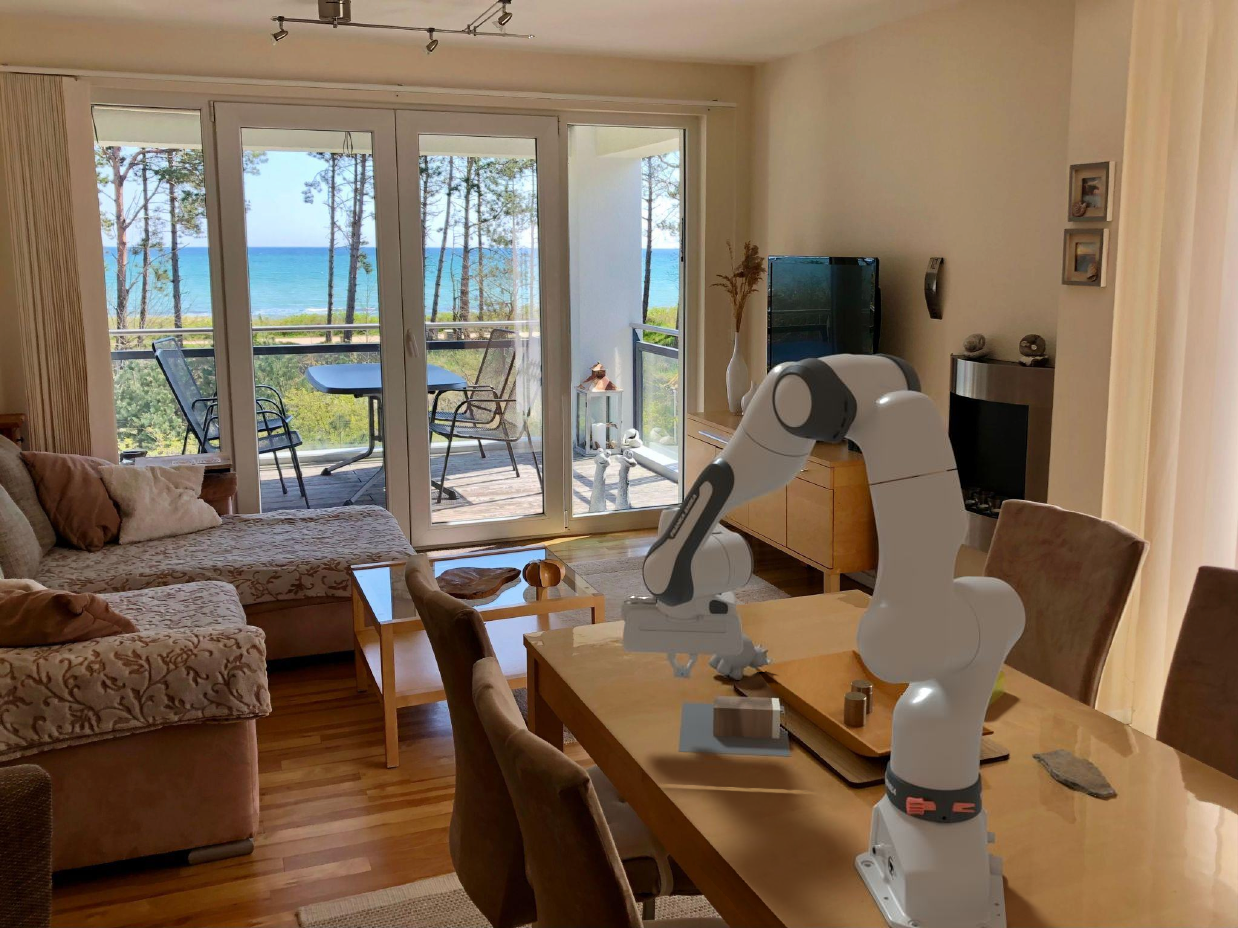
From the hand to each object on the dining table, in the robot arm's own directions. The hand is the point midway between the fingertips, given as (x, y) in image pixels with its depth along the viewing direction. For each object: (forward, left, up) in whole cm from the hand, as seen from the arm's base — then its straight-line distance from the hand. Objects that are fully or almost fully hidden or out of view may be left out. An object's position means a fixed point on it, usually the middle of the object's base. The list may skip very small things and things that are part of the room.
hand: (682, 676), depth 185 cm
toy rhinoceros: (+27, -11, -10) cm, 30 cm away
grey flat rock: (-10, -62, -11) cm, 63 cm away
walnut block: (0, -5, -7) cm, 9 cm away
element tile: (+21, -49, -10) cm, 55 cm away
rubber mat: (+1, -9, -10) cm, 13 cm away
